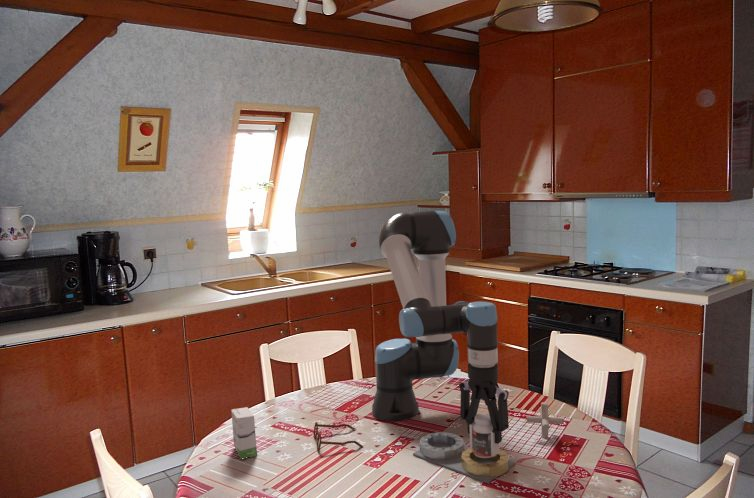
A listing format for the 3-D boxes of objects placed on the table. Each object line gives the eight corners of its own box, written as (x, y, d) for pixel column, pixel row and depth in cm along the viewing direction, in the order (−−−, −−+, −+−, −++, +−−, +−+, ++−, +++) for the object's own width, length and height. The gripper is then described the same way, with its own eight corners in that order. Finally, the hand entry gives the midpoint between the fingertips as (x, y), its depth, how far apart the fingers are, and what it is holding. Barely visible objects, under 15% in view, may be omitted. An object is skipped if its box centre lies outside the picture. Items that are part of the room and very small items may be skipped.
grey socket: (411, 451, 162) (411, 442, 162) (438, 437, 171) (437, 429, 171) (446, 464, 154) (445, 455, 154) (472, 448, 163) (471, 440, 162)
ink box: (257, 456, 165) (255, 415, 163) (240, 460, 162) (237, 419, 161) (250, 444, 172) (247, 405, 171) (233, 448, 170) (230, 408, 169)
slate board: (412, 455, 161) (412, 453, 161) (442, 439, 171) (441, 437, 171) (487, 483, 145) (487, 481, 145) (515, 463, 154) (515, 462, 154)
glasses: (313, 435, 177) (312, 419, 177) (356, 430, 180) (355, 414, 180) (318, 455, 165) (317, 437, 164) (364, 449, 167) (363, 432, 167)
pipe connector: (565, 445, 163) (564, 410, 162) (527, 443, 165) (527, 409, 164) (561, 430, 173) (561, 397, 172) (526, 429, 175) (525, 396, 174)
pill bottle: (468, 454, 153) (467, 417, 152) (482, 447, 156) (481, 410, 155) (486, 461, 148) (486, 423, 147) (500, 453, 152) (499, 416, 151)
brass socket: (452, 467, 153) (452, 457, 152) (478, 451, 161) (478, 442, 161) (491, 481, 145) (491, 471, 144) (517, 464, 153) (516, 454, 153)
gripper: (444, 360, 154) (446, 445, 156) (506, 374, 141) (508, 467, 143) (461, 353, 159) (463, 436, 162) (523, 366, 146) (524, 456, 149)
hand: (484, 450), depth 152 cm, fingers closed on pill bottle, 6 cm apart
